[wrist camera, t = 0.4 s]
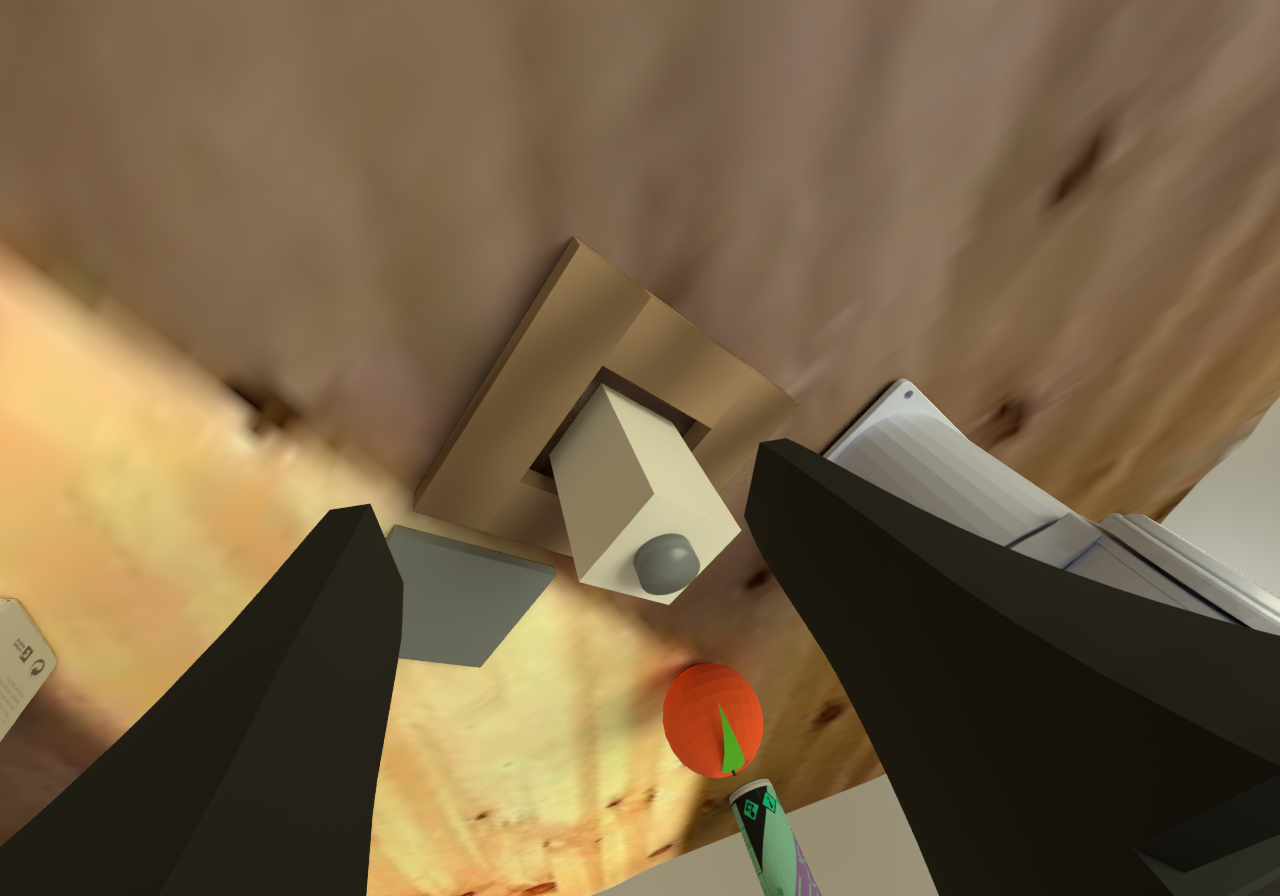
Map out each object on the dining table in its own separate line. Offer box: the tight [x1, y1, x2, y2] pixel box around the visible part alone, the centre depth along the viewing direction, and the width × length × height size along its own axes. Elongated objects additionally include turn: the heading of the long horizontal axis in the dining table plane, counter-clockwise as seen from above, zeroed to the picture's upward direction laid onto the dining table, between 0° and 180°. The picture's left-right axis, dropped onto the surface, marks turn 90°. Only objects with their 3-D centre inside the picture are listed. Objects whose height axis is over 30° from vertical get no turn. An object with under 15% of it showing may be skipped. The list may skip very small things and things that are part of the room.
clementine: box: [663, 663, 763, 778], centre depth 33 cm, size 8×7×7 cm
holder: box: [413, 237, 799, 557], centre depth 20 cm, size 12×12×1 cm
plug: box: [549, 383, 741, 605], centre depth 18 cm, size 4×4×8 cm
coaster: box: [386, 525, 556, 668], centre depth 23 cm, size 8×8×1 cm
